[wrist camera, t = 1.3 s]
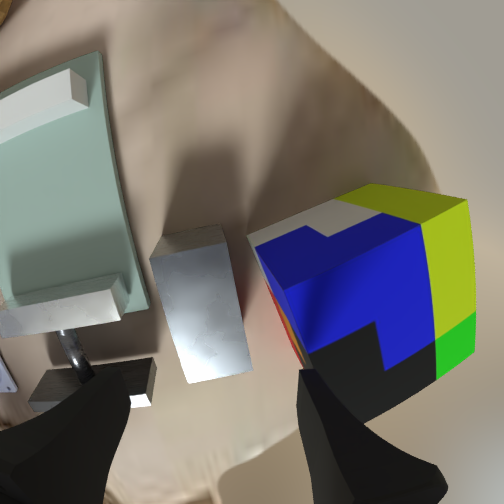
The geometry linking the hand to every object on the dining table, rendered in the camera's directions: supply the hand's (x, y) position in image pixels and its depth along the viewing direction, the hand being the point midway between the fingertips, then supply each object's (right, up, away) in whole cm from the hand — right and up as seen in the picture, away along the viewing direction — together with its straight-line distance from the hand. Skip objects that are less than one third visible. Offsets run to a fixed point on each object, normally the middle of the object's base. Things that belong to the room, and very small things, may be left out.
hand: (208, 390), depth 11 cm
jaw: (-11, -1, +9) cm, 14 cm away
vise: (-13, +9, +7) cm, 17 cm away
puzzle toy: (+8, +4, +12) cm, 15 cm away
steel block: (-2, +3, +10) cm, 11 cm away
